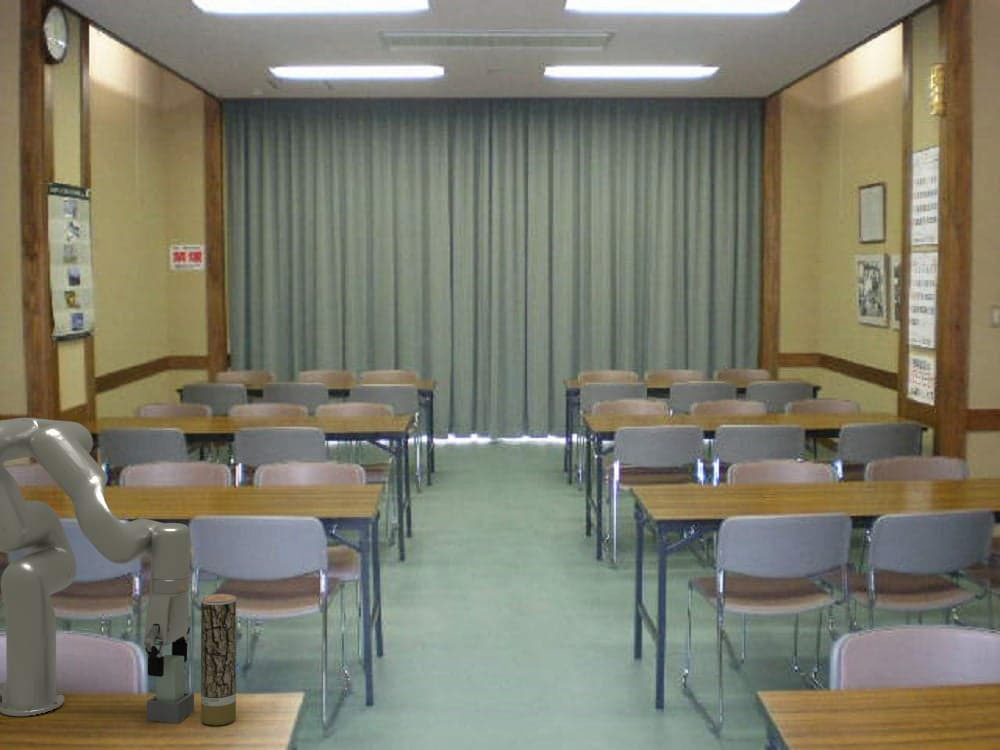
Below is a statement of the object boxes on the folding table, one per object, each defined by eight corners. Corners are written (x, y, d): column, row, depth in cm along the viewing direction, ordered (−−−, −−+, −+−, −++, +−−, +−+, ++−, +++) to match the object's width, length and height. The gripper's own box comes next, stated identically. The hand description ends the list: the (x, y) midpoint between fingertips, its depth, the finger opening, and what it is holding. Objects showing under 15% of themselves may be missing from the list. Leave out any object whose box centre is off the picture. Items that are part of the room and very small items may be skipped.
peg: (156, 719, 224) (156, 660, 223) (166, 712, 227) (166, 654, 227) (174, 720, 223) (174, 661, 222) (184, 713, 227) (184, 656, 226)
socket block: (146, 720, 222) (146, 701, 222) (163, 709, 229) (163, 690, 229) (177, 723, 221) (177, 704, 221) (193, 712, 228) (193, 692, 228)
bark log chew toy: (226, 728, 219) (227, 603, 218) (195, 725, 220) (195, 601, 219) (241, 716, 226) (241, 595, 224) (210, 713, 227) (210, 593, 226)
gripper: (173, 574, 233) (171, 654, 234) (130, 593, 216) (128, 679, 217) (206, 577, 232) (204, 657, 232) (165, 597, 215) (163, 683, 216)
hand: (167, 668), depth 225 cm, fingers open, 9 cm apart
